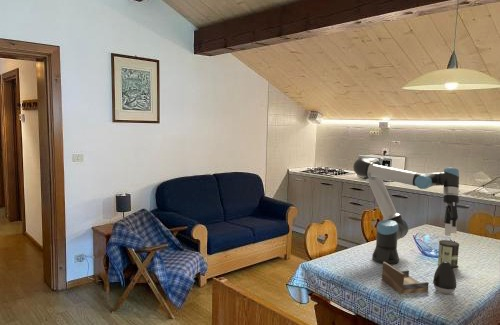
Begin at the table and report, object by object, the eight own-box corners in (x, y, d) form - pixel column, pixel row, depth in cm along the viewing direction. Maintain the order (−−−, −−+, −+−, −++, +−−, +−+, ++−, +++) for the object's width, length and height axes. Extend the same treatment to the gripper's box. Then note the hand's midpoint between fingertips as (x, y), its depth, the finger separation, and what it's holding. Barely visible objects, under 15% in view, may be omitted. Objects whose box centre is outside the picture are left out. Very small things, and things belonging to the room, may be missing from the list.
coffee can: (454, 264, 223) (455, 240, 222) (459, 270, 213) (461, 246, 212) (435, 262, 225) (436, 239, 224) (440, 268, 215) (442, 244, 214)
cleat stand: (407, 278, 201) (408, 260, 200) (427, 291, 185) (429, 271, 184) (381, 280, 197) (382, 261, 196) (400, 294, 182) (401, 274, 181)
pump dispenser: (455, 298, 178) (458, 267, 177) (431, 293, 184) (433, 262, 182) (456, 290, 187) (459, 261, 185) (433, 285, 192) (435, 256, 191)
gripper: (464, 191, 197) (464, 232, 192) (453, 200, 220) (452, 237, 215) (448, 190, 199) (447, 231, 194) (439, 199, 222) (438, 235, 217)
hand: (450, 234), depth 204 cm, fingers open, 13 cm apart
